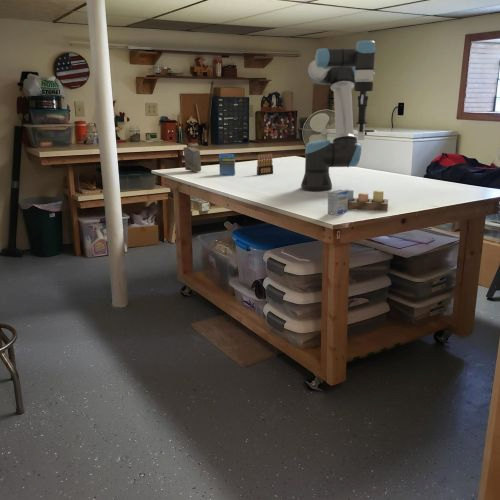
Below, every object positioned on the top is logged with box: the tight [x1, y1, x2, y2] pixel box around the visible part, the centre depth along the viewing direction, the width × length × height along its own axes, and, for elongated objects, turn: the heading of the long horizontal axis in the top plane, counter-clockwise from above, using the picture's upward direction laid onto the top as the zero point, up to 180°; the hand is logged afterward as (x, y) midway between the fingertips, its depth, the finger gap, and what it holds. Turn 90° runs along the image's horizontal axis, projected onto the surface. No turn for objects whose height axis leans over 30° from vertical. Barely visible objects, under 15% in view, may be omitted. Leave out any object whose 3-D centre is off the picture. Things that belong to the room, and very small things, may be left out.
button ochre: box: [372, 190, 384, 203], centre depth 211 cm, size 4×4×5 cm
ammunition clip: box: [256, 153, 274, 177], centre depth 299 cm, size 11×2×12 cm, turn 125°
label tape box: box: [218, 153, 236, 176], centre depth 299 cm, size 9×4×12 cm, turn 84°
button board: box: [347, 197, 389, 212], centre depth 213 cm, size 20×9×3 cm, turn 74°
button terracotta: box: [357, 192, 369, 202], centre depth 213 cm, size 4×4×5 cm
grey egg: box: [346, 189, 355, 201], centre depth 214 cm, size 4×4×5 cm
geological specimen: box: [182, 146, 202, 173], centre depth 311 cm, size 11×6×15 cm, turn 35°
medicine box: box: [327, 189, 348, 215], centre depth 204 cm, size 8×4×9 cm, turn 138°
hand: (360, 139), depth 219 cm, fingers closed
